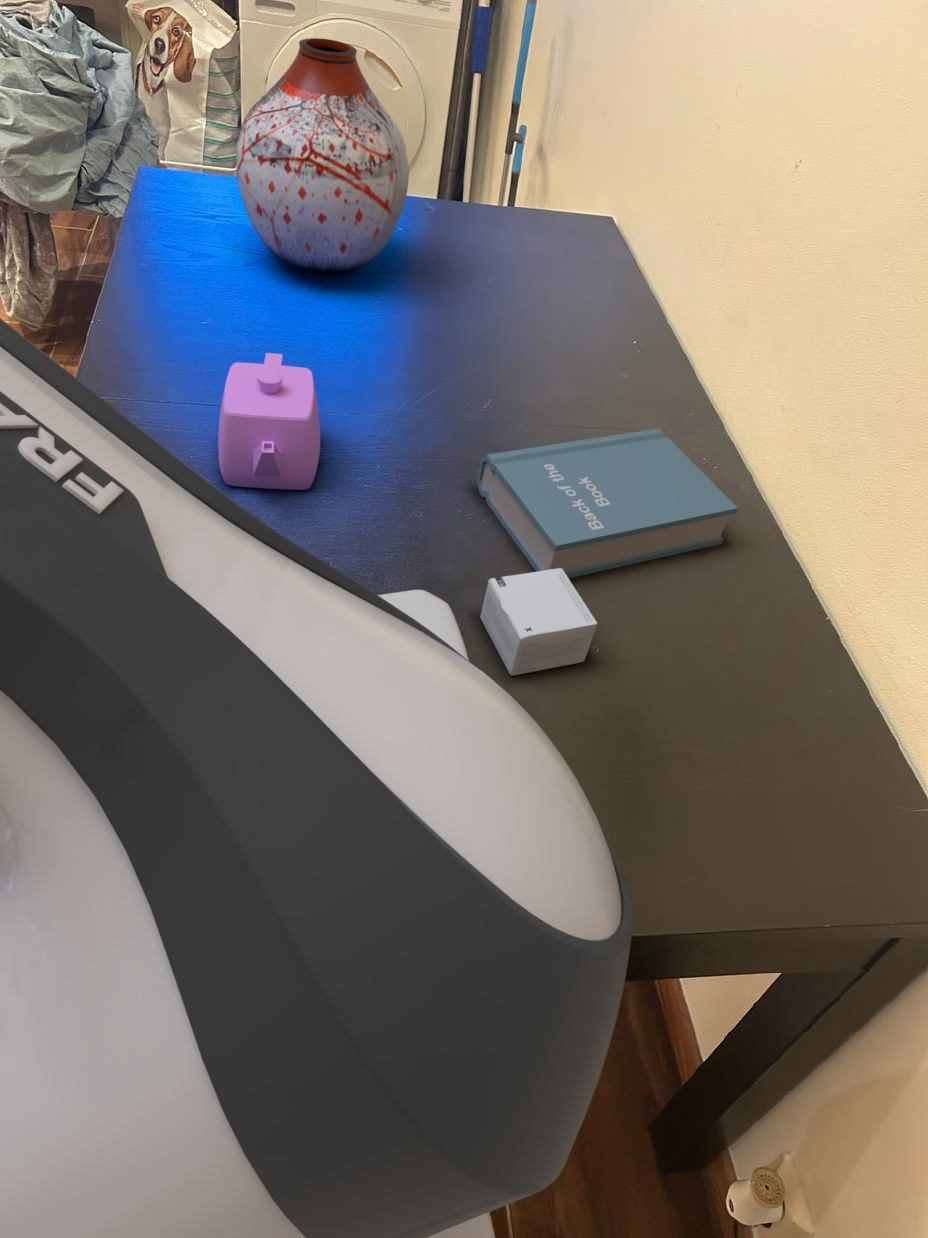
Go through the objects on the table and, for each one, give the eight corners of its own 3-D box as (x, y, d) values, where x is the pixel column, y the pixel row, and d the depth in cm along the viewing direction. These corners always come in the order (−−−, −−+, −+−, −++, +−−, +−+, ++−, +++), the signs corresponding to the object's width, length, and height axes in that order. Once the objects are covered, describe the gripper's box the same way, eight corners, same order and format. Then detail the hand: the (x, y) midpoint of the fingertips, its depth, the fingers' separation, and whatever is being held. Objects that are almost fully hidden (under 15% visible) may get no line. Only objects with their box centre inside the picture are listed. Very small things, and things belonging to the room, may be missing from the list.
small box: (586, 663, 81) (600, 624, 78) (508, 678, 79) (519, 638, 75) (551, 604, 86) (563, 565, 83) (477, 616, 84) (486, 577, 80)
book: (544, 583, 88) (556, 545, 85) (475, 487, 98) (482, 449, 94) (721, 543, 97) (738, 508, 94) (642, 458, 107) (654, 423, 103)
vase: (271, 217, 139) (271, 7, 120) (415, 251, 139) (438, 45, 119) (213, 276, 123) (201, 44, 103) (375, 315, 122) (394, 88, 102)
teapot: (318, 516, 90) (321, 431, 83) (211, 510, 88) (205, 423, 81) (320, 417, 103) (323, 336, 96) (226, 411, 101) (223, 327, 94)
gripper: (546, 734, 30) (418, 484, 38) (-166, 886, 23) (-126, 539, 31) (511, 832, 34) (404, 589, 43) (-94, 986, 27) (-76, 658, 36)
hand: (175, 568), depth 37 cm, fingers closed
